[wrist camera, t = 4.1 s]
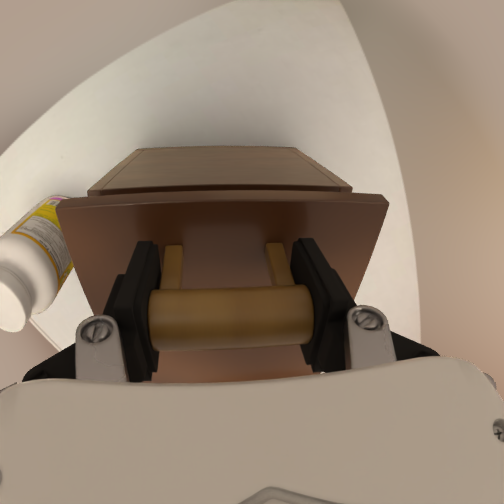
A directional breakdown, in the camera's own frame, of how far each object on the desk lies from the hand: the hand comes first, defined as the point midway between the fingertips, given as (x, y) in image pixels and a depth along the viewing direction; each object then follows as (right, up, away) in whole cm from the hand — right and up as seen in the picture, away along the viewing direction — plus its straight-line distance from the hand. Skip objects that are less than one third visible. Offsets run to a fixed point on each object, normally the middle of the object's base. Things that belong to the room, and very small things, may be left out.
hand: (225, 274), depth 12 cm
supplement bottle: (-17, +4, +14) cm, 23 cm away
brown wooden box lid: (-1, -3, +5) cm, 5 cm away
